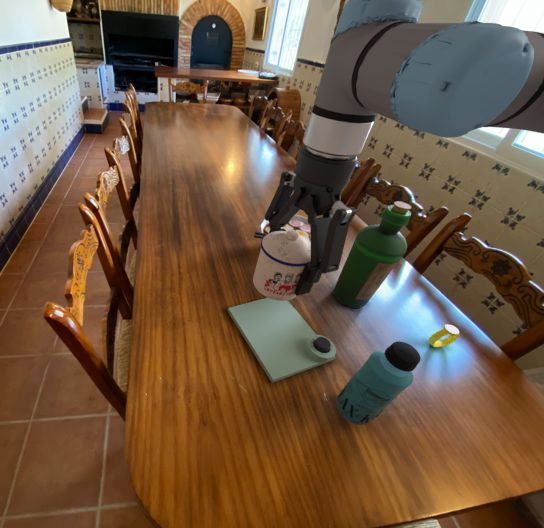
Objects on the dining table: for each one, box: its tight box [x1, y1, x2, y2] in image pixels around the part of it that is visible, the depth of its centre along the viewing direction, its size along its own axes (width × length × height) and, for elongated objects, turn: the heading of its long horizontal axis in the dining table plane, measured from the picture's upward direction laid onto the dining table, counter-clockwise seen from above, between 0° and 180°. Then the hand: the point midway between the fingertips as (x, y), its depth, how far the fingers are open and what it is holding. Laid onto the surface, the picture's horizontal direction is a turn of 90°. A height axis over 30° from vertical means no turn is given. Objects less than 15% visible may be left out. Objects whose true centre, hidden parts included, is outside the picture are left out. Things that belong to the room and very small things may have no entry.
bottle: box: [332, 200, 412, 309], centre depth 71 cm, size 11×11×28 cm
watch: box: [428, 323, 461, 349], centre depth 68 cm, size 6×3×6 cm, turn 100°
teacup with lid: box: [252, 230, 321, 301], centre depth 51 cm, size 12×9×12 cm
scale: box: [227, 297, 337, 384], centre depth 68 cm, size 20×16×3 cm
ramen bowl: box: [253, 214, 344, 255], centre depth 92 cm, size 25×23×8 cm
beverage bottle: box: [335, 341, 421, 426], centre depth 50 cm, size 6×7×20 cm
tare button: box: [314, 336, 331, 353], centre depth 63 cm, size 3×3×2 cm
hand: (285, 274), depth 54 cm, fingers closed on teacup with lid, 9 cm apart
